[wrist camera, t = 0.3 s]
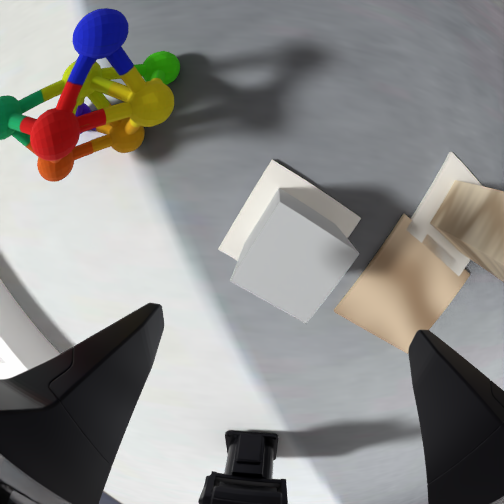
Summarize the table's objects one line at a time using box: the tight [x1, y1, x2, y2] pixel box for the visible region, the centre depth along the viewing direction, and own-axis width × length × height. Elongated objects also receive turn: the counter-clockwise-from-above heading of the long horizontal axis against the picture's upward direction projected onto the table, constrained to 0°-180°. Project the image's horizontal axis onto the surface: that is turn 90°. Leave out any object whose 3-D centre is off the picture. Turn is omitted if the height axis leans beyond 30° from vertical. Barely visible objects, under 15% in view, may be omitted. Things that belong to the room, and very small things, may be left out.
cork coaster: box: [334, 214, 470, 354], centre depth 22 cm, size 10×10×1 cm
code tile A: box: [407, 152, 482, 276], centre depth 20 cm, size 8×8×1 cm
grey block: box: [230, 188, 360, 323], centre depth 18 cm, size 5×5×7 cm
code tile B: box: [218, 160, 361, 261], centre depth 22 cm, size 8×8×1 cm
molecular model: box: [0, 8, 180, 181], centre depth 14 cm, size 11×7×12 cm, turn 107°
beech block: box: [430, 180, 504, 282], centre depth 15 cm, size 4×5×11 cm
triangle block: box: [0, 279, 60, 379], centre depth 27 cm, size 30×26×6 cm
